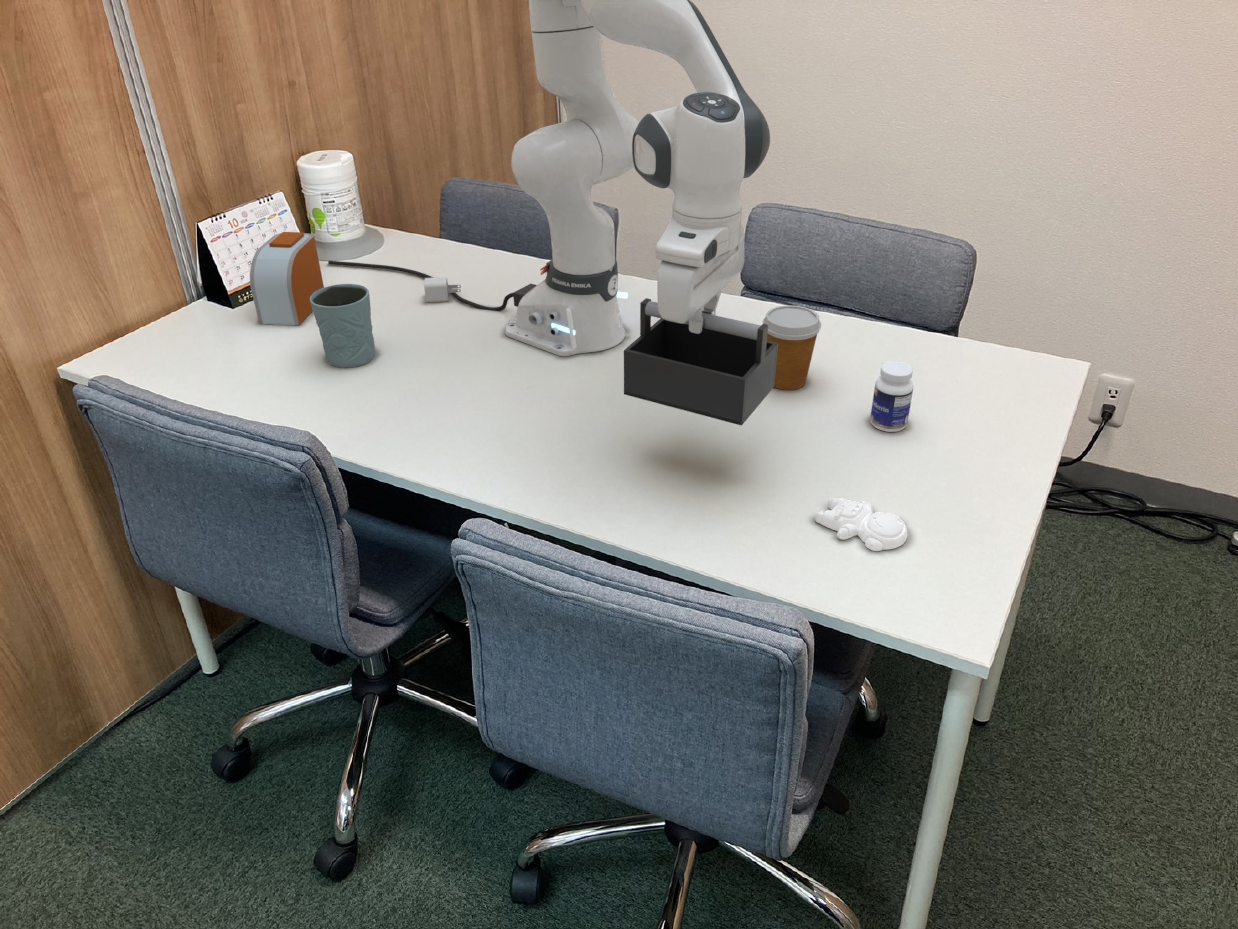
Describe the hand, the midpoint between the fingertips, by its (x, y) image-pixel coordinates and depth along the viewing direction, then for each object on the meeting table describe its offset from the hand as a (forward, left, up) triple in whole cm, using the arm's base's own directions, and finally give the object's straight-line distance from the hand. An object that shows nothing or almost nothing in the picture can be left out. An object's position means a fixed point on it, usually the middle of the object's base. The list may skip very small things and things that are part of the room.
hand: (701, 326), depth 135 cm
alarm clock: (-94, +14, -22) cm, 97 cm away
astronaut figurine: (+26, -5, -22) cm, 35 cm away
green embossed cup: (-70, +3, -22) cm, 73 cm away
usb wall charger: (-70, +31, -22) cm, 80 cm away
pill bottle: (+22, +23, -22) cm, 39 cm away
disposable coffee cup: (+3, +29, -22) cm, 37 cm away
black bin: (0, 0, -10) cm, 10 cm away
